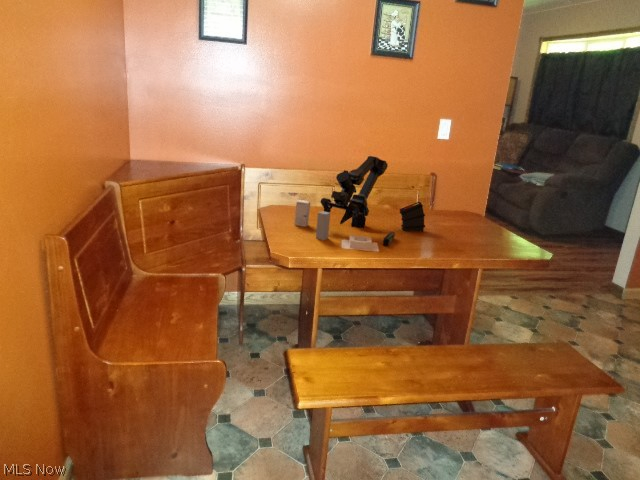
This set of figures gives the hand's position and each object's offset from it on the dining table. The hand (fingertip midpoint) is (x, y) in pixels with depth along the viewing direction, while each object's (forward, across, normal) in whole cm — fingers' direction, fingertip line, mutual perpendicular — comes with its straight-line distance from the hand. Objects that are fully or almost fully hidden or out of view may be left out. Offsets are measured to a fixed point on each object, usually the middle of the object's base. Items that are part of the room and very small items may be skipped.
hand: (331, 221), depth 212 cm
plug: (+10, 0, 0) cm, 11 cm away
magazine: (-22, +24, +34) cm, 47 cm away
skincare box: (+2, -20, +9) cm, 22 cm away
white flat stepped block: (+8, +17, +3) cm, 19 cm away
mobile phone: (-2, +24, +14) cm, 28 cm away
